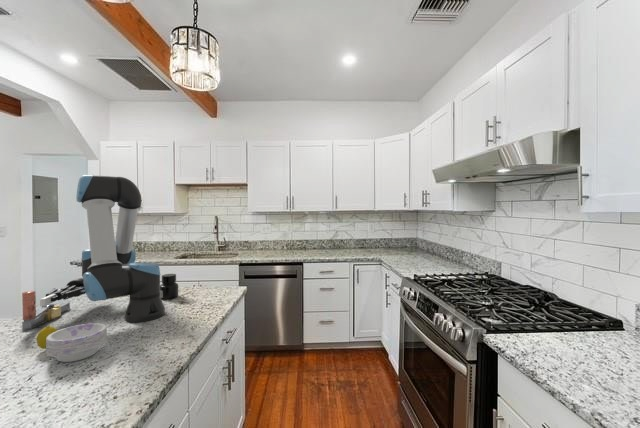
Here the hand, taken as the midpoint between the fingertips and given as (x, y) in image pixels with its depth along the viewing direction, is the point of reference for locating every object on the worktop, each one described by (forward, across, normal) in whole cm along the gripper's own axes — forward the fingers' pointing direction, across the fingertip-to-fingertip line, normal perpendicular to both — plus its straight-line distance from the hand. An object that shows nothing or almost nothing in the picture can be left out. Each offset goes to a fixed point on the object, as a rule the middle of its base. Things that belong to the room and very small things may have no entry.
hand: (42, 302), depth 114 cm
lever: (-9, +7, -7) cm, 14 cm away
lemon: (+16, -12, -12) cm, 23 cm away
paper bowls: (+22, -24, -12) cm, 34 cm away
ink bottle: (-39, -33, -12) cm, 53 cm away
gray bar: (-17, +9, -12) cm, 22 cm away
